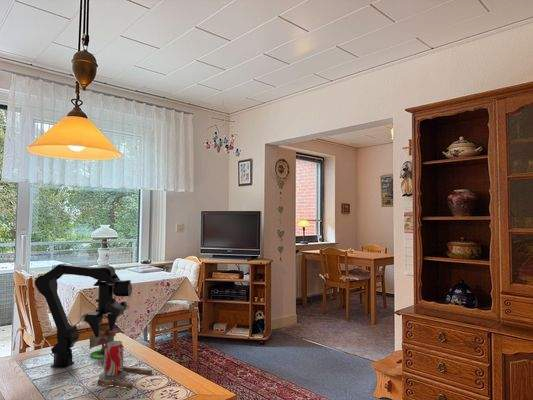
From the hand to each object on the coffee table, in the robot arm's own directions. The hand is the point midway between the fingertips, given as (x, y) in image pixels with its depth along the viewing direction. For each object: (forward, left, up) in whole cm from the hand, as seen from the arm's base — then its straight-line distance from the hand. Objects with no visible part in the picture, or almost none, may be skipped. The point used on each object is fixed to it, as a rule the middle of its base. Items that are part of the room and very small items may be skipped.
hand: (104, 333), depth 160 cm
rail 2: (+17, -2, -13) cm, 22 cm away
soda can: (+10, -8, -13) cm, 18 cm away
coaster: (+10, -8, -13) cm, 19 cm away
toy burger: (-8, +11, -13) cm, 19 cm away
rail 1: (+17, -16, -13) cm, 26 cm away
